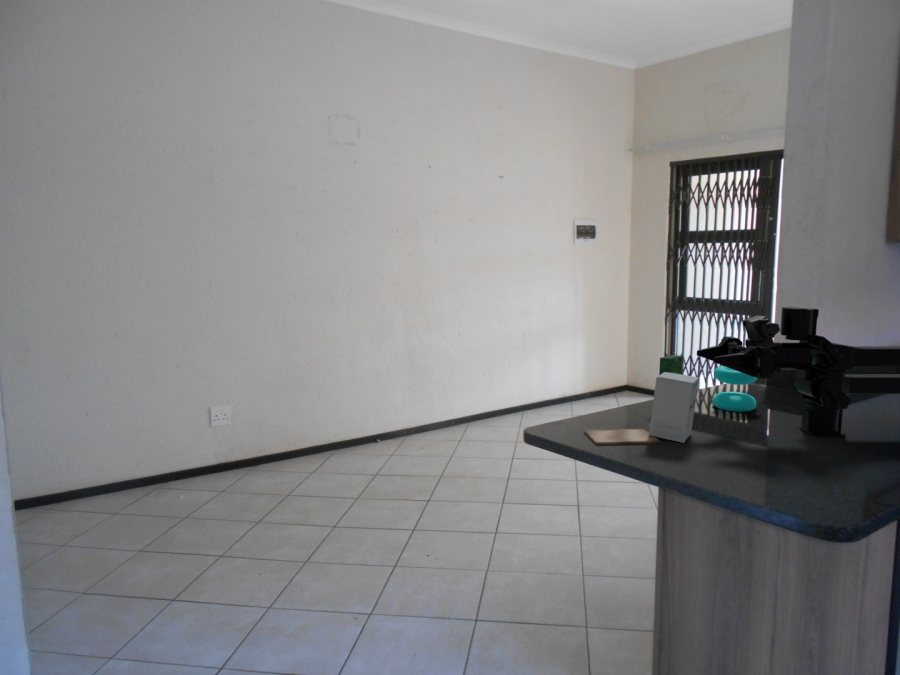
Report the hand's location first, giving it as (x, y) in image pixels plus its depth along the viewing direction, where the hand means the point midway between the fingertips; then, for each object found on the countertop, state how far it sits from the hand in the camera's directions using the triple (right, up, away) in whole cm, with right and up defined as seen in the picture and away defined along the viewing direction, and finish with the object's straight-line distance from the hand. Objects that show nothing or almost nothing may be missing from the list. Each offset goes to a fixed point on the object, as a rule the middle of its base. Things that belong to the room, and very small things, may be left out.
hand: (705, 356), depth 128 cm
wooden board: (-18, -17, -1) cm, 25 cm away
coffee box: (+1, -14, +24) cm, 28 cm away
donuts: (+17, -14, +24) cm, 32 cm away
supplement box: (-8, -17, -1) cm, 18 cm away
